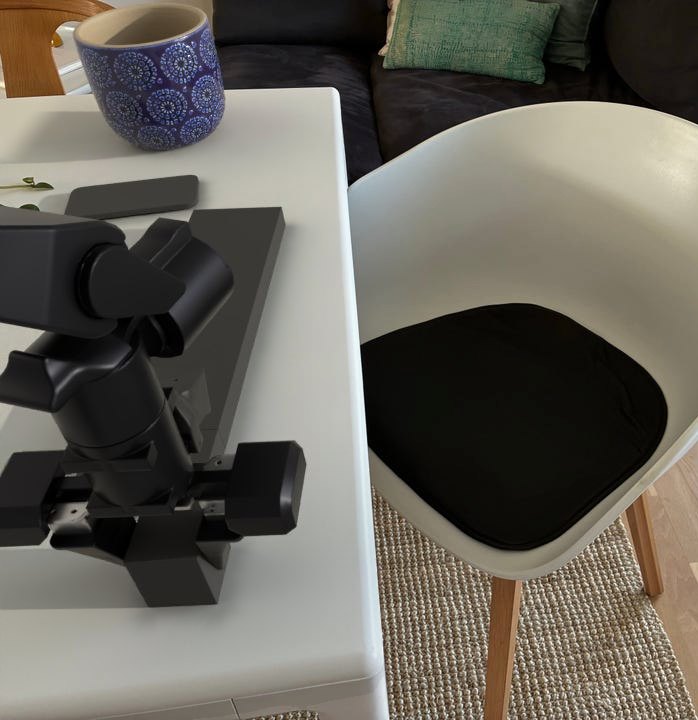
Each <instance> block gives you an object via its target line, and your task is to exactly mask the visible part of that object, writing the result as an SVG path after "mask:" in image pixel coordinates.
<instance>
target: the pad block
mask: <svg viewBox="0 0 698 720" xmlns="http://www.w3.org/2000/svg"><path fill="white" fill-rule="evenodd" d="M203 510H204V509H201V506H200V504H199V501H195V503H194V506H193V508H192V509H190V510H174V513H173V515H158V516H138V518H137V520H136V522H137V524H136V526H135V529H134V532H133V535H132V538H131V541H130V544H129V547H128V549H127V552H126V555H125V558H124V561H123V563H124V565H125V569H126V570H127V572H128V574H129V576H130V577H131V580H132V581H133V582H134V585H135V586H136V588H137V590H138V591H139V593H140V595H141V597H142V598H143V600H144V602H145V604H146V606H147V607H148V608H156V607H157V608H160V607H183V606H202V605H203V606H207V605H218V603H219V600H220V595H221V592H222V591H221V590H222V586H223V581H224V578H225V574H226V570H227V566H228V560H229V556H230V551H231V548H232V545H231V543H228V550H227V557H226V562H225V566H224V569H223V570H218V569H216V568H215V567H214V566H213V565H211V563H210V562H209V561H208V559H207V558H206V556H205V555H204V554H203V552H202V551H201V550H200V548H199V547H198V545H197V544H196V542H195V539H196V535H197V532H198V528H199V524H200V521H201V517H202V513H203Z"/></svg>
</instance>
